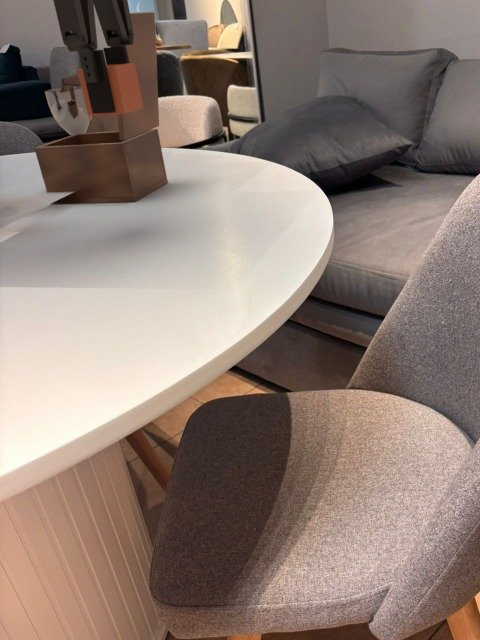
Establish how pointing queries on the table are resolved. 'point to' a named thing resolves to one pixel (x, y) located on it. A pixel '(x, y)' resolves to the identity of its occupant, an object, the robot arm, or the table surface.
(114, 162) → the chest
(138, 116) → the lid
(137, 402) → the table surface
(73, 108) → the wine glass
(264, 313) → the table surface
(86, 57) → the robot arm
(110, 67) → the block
